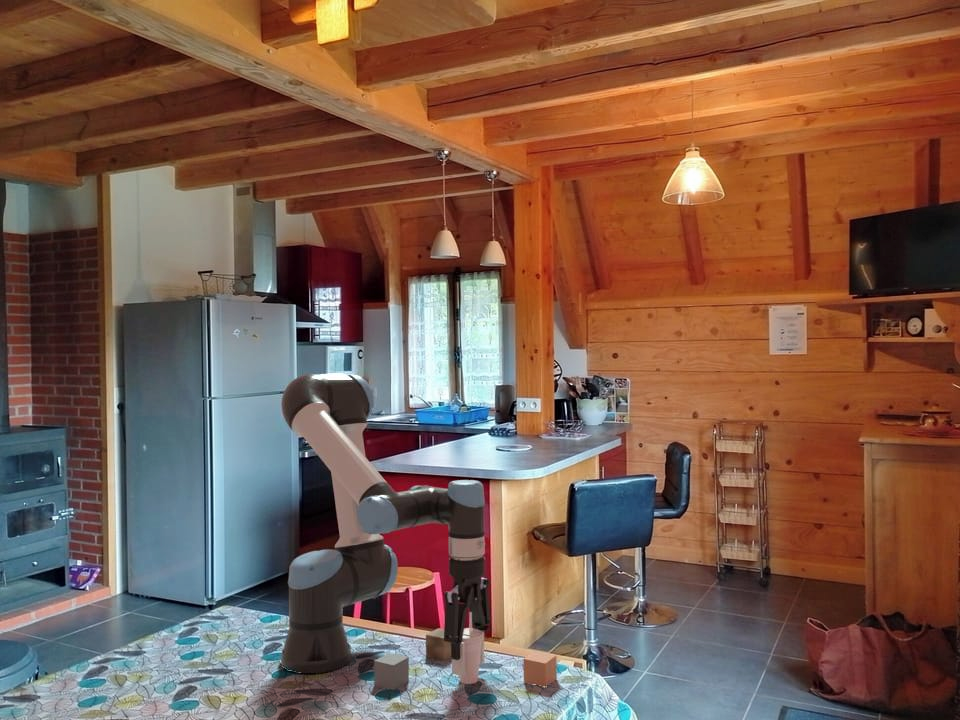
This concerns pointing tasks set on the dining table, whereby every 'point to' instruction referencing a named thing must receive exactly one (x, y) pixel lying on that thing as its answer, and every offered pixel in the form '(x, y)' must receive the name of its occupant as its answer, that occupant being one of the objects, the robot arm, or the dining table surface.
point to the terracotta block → (540, 668)
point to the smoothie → (471, 653)
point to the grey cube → (391, 671)
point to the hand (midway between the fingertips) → (468, 667)
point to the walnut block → (437, 645)
